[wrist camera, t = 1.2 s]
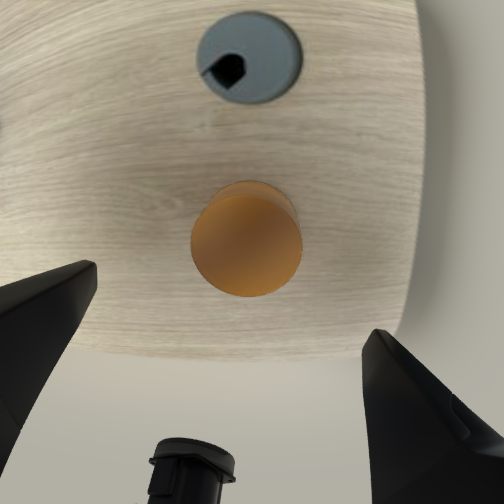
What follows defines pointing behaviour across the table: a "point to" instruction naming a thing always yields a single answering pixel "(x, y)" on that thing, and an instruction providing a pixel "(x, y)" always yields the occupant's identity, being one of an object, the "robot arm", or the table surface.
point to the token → (247, 240)
